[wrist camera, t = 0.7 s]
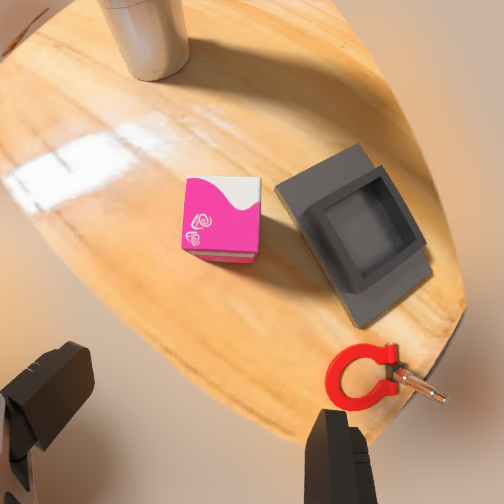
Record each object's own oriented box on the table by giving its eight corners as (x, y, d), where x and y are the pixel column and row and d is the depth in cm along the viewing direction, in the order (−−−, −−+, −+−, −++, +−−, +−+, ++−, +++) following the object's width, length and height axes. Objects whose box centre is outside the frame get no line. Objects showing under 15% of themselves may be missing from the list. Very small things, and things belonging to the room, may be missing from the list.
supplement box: (203, 209, 33) (186, 171, 22) (256, 211, 33) (266, 174, 22) (199, 261, 32) (179, 249, 21) (254, 264, 33) (263, 253, 21)
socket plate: (273, 190, 34) (279, 176, 29) (354, 148, 35) (367, 132, 30) (354, 326, 32) (370, 332, 28) (425, 271, 33) (446, 269, 29)
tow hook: (326, 414, 32) (395, 396, 32) (359, 470, 19) (449, 436, 19) (320, 350, 32) (392, 334, 33) (357, 385, 20) (455, 354, 20)
